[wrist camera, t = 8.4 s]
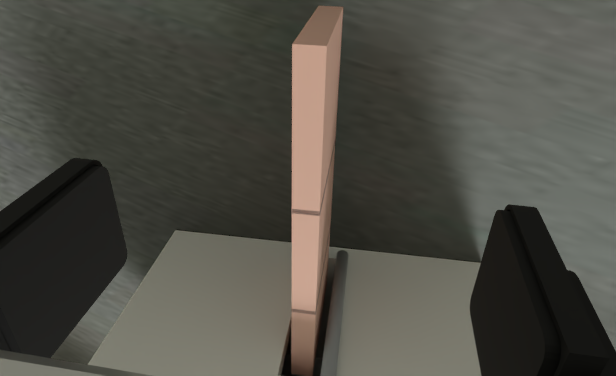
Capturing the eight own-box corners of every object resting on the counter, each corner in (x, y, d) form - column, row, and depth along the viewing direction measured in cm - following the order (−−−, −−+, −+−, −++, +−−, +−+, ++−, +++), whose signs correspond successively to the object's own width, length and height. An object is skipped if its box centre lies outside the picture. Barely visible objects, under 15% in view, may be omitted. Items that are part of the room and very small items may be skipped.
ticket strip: (318, 5, 22) (291, 43, 15) (343, 6, 22) (327, 46, 15) (309, 280, 31) (290, 373, 25) (327, 282, 31) (313, 376, 25)
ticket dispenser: (174, 221, 33) (80, 358, 23) (483, 253, 30) (533, 424, 20) (193, 338, 40) (128, 485, 29) (448, 372, 37) (473, 545, 27)
